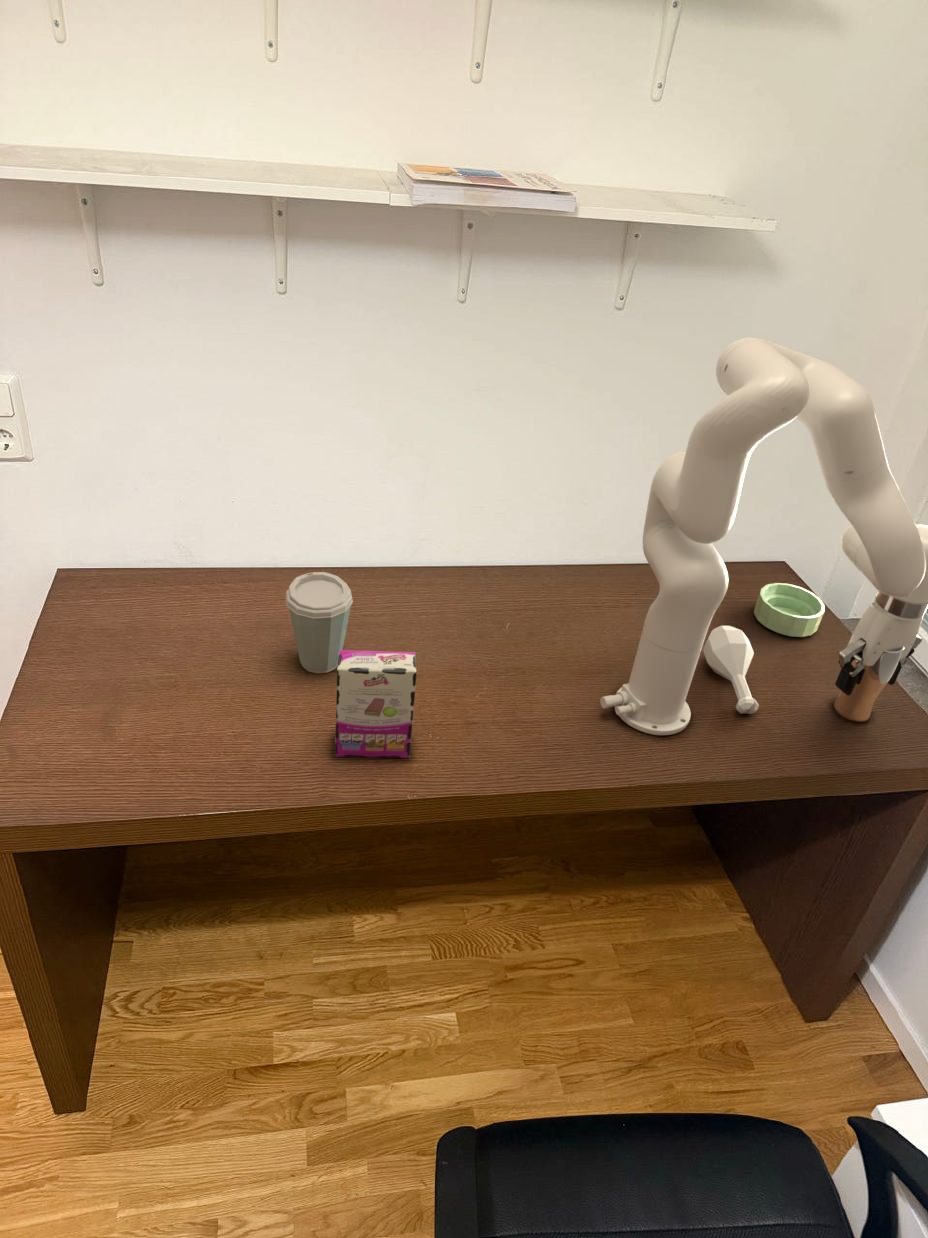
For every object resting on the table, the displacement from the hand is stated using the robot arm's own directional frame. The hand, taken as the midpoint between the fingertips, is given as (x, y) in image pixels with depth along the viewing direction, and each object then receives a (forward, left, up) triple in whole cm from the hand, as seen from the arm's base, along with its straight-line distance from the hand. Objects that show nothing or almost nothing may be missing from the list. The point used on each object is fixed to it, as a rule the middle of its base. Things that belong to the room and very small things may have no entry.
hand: (864, 684), depth 154 cm
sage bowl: (+7, +26, -6) cm, 28 cm away
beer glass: (0, 0, -6) cm, 6 cm away
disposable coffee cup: (-84, +37, -6) cm, 92 cm away
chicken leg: (-17, +12, -6) cm, 22 cm away
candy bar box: (-82, +15, -6) cm, 84 cm away
